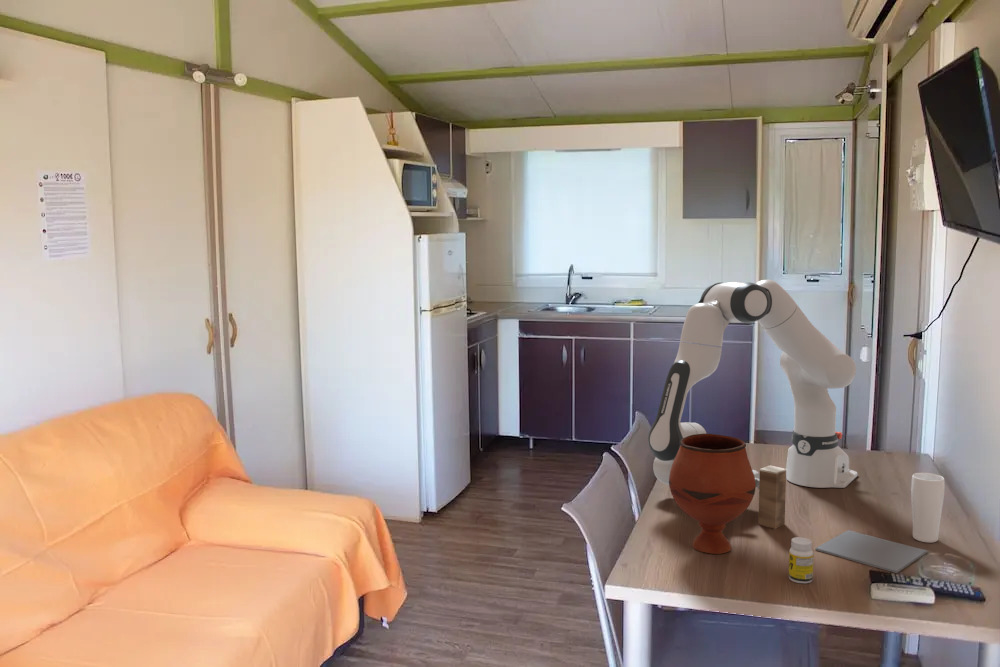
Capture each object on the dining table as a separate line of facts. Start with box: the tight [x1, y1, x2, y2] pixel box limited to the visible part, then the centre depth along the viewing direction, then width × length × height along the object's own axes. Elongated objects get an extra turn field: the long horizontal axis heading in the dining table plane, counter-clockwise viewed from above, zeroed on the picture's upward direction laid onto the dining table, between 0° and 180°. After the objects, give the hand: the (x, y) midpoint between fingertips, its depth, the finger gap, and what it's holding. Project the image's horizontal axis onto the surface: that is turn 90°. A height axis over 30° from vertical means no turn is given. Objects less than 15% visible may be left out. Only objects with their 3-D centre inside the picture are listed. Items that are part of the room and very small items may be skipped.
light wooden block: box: [757, 464, 787, 530], centre depth 206 cm, size 4×4×14 cm
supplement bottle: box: [788, 536, 814, 584], centre depth 174 cm, size 5×5×8 cm
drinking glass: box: [910, 472, 945, 544], centre depth 194 cm, size 7×7×15 cm
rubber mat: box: [815, 529, 928, 574], centre depth 189 cm, size 16×18×1 cm
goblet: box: [668, 433, 757, 555], centre depth 191 cm, size 19×19×25 cm
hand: (756, 490), depth 209 cm, fingers open, 8 cm apart
